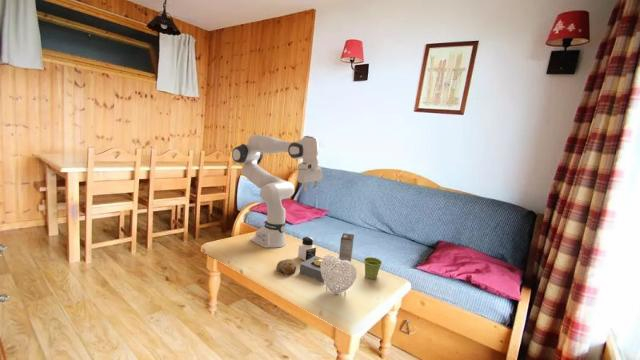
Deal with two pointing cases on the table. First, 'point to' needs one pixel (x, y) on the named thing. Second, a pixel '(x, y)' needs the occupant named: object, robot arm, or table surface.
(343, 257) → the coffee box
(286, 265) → the bread roll
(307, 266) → the switch block
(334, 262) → the decorative heart
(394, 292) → the table surface
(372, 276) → the plant pot
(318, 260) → the brass button
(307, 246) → the medicine bottle
